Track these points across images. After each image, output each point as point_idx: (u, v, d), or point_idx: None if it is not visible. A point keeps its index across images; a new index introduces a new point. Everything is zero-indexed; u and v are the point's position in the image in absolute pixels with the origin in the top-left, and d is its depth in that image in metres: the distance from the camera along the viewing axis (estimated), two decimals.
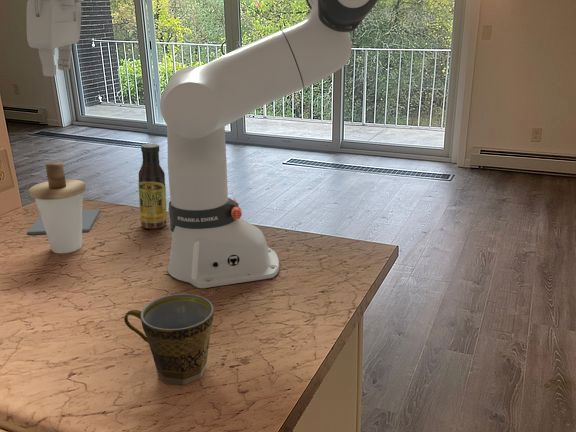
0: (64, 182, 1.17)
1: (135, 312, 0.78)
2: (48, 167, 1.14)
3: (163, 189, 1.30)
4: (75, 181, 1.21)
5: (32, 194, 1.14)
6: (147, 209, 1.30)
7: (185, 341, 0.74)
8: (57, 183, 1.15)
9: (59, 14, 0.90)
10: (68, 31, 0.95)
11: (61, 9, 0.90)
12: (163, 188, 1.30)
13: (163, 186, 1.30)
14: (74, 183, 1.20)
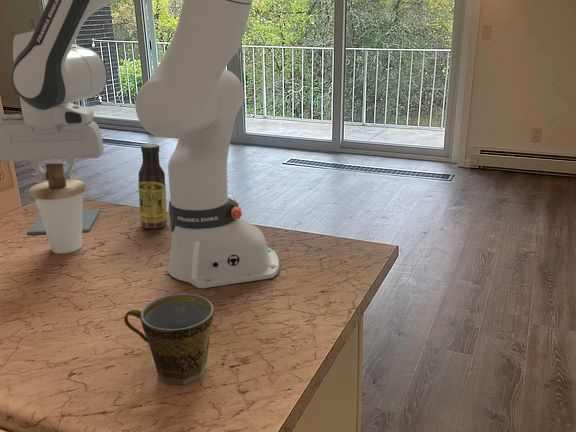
0: (64, 182, 1.17)
1: (135, 312, 0.78)
2: (48, 167, 1.14)
3: (163, 189, 1.30)
4: (75, 181, 1.21)
5: (32, 194, 1.14)
6: (147, 209, 1.30)
7: (185, 341, 0.74)
8: (57, 183, 1.15)
9: (31, 135, 1.11)
10: (55, 148, 1.13)
11: (31, 131, 1.11)
12: (163, 188, 1.30)
13: (163, 186, 1.30)
14: (74, 183, 1.20)
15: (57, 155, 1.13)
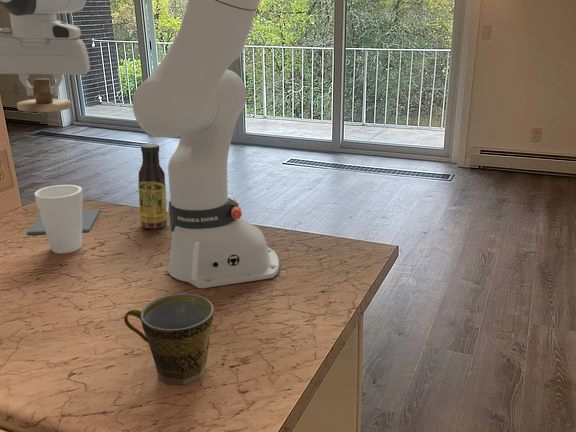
0: (51, 98, 1.21)
1: (135, 312, 0.78)
2: (35, 82, 1.18)
3: (163, 189, 1.30)
4: (62, 100, 1.25)
5: (19, 107, 1.18)
6: (147, 209, 1.30)
7: (185, 341, 0.74)
8: (43, 98, 1.20)
9: (19, 49, 1.15)
10: (43, 63, 1.17)
11: (19, 45, 1.15)
12: (163, 188, 1.30)
13: (163, 186, 1.30)
14: (60, 101, 1.24)
15: (44, 70, 1.17)
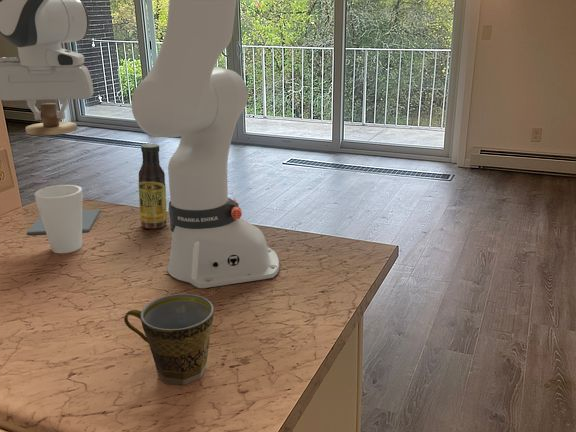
0: (57, 121, 1.28)
1: (135, 312, 0.78)
2: (42, 106, 1.25)
3: (163, 189, 1.30)
4: (68, 122, 1.32)
5: (28, 131, 1.25)
6: (147, 209, 1.30)
7: (185, 341, 0.74)
8: (50, 122, 1.26)
9: (27, 76, 1.22)
10: (49, 89, 1.24)
11: (27, 73, 1.22)
12: (163, 188, 1.30)
13: (163, 186, 1.30)
14: (66, 123, 1.31)
15: (51, 95, 1.24)
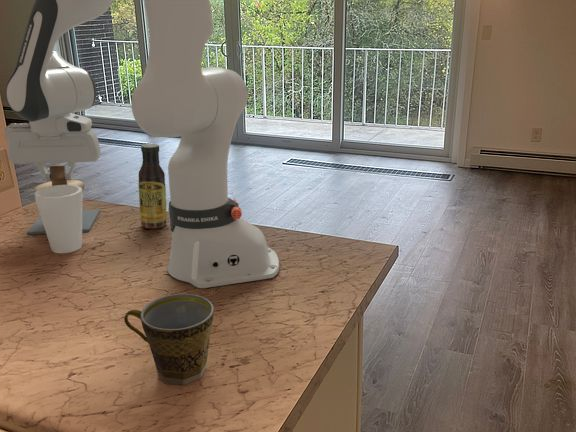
0: (65, 182, 1.33)
1: (135, 312, 0.78)
2: (52, 169, 1.30)
3: (163, 189, 1.30)
4: (75, 181, 1.37)
5: None
6: (147, 209, 1.30)
7: (185, 341, 0.74)
8: (59, 183, 1.31)
9: (37, 141, 1.28)
10: (58, 153, 1.29)
11: (37, 138, 1.27)
12: (163, 188, 1.30)
13: (163, 186, 1.30)
14: (74, 183, 1.36)
15: (60, 159, 1.29)
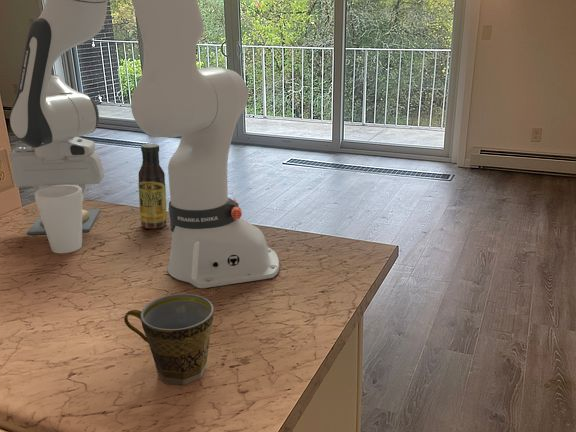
0: None
1: (135, 312, 0.78)
2: None
3: (163, 189, 1.30)
4: None
5: None
6: (147, 209, 1.30)
7: (185, 341, 0.74)
8: None
9: (41, 165, 1.29)
10: (62, 176, 1.31)
11: (41, 162, 1.29)
12: (163, 188, 1.30)
13: (163, 186, 1.30)
14: None
15: (63, 181, 1.31)
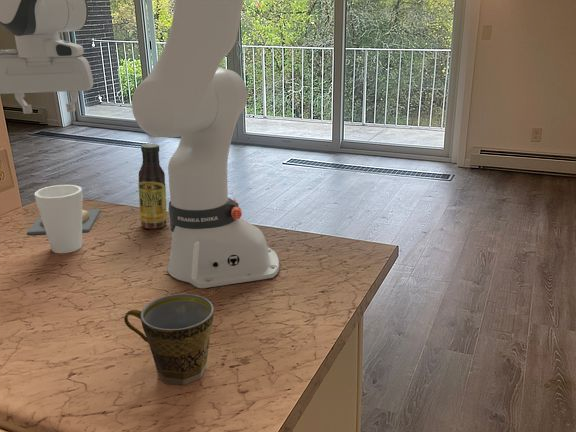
0: None
1: (135, 312, 0.78)
2: None
3: (163, 189, 1.30)
4: None
5: None
6: (147, 209, 1.30)
7: (185, 341, 0.74)
8: None
9: (25, 68, 1.20)
10: (48, 81, 1.21)
11: (25, 65, 1.19)
12: (163, 188, 1.30)
13: (163, 186, 1.30)
14: None
15: (50, 88, 1.22)
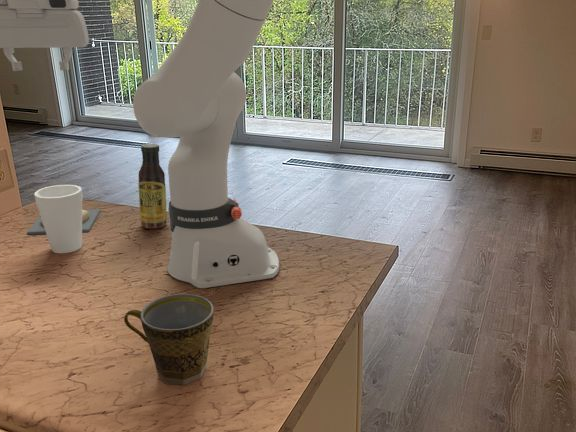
0: None
1: (135, 312, 0.78)
2: None
3: (163, 189, 1.30)
4: None
5: None
6: (147, 209, 1.30)
7: (185, 341, 0.74)
8: None
9: (15, 21, 1.11)
10: (40, 35, 1.12)
11: (15, 17, 1.11)
12: (163, 188, 1.30)
13: (163, 186, 1.30)
14: None
15: (42, 43, 1.13)
